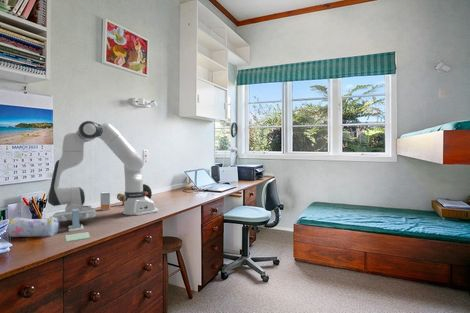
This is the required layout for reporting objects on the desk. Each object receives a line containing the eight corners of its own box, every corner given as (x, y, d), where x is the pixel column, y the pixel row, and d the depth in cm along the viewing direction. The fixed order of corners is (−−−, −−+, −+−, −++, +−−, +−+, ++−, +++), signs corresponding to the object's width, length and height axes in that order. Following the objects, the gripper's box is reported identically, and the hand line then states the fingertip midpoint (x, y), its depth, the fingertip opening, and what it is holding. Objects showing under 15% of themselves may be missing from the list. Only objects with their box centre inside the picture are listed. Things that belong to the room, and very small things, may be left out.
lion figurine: (117, 206, 206) (116, 194, 206) (116, 205, 211) (116, 193, 211) (138, 204, 212) (138, 192, 212) (137, 203, 217) (137, 191, 217)
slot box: (82, 226, 155) (82, 224, 155) (83, 230, 148) (83, 227, 147) (68, 228, 151) (68, 225, 151) (69, 232, 144) (68, 229, 144)
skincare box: (100, 210, 193) (100, 193, 193) (100, 209, 197) (100, 192, 197) (110, 209, 196) (109, 192, 195) (110, 208, 200) (109, 191, 199)
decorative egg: (146, 201, 224) (146, 182, 223) (154, 203, 215) (154, 184, 215) (131, 203, 215) (131, 184, 214) (139, 206, 206) (139, 185, 206)
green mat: (88, 233, 144) (88, 231, 144) (90, 238, 135) (90, 237, 135) (65, 236, 138) (65, 235, 138) (65, 242, 130) (65, 241, 130)
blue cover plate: (78, 227, 152) (78, 208, 152) (79, 229, 148) (79, 210, 148) (72, 227, 150) (72, 209, 150) (72, 230, 147) (72, 211, 146)
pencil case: (61, 233, 144) (60, 214, 144) (51, 238, 136) (51, 219, 135) (17, 234, 142) (16, 215, 142) (5, 240, 133) (4, 220, 133)
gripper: (52, 209, 155) (52, 214, 144) (93, 205, 166) (96, 209, 154) (52, 220, 156) (52, 227, 144) (94, 215, 166) (96, 221, 155)
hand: (75, 218), depth 149 cm, fingers open, 8 cm apart
